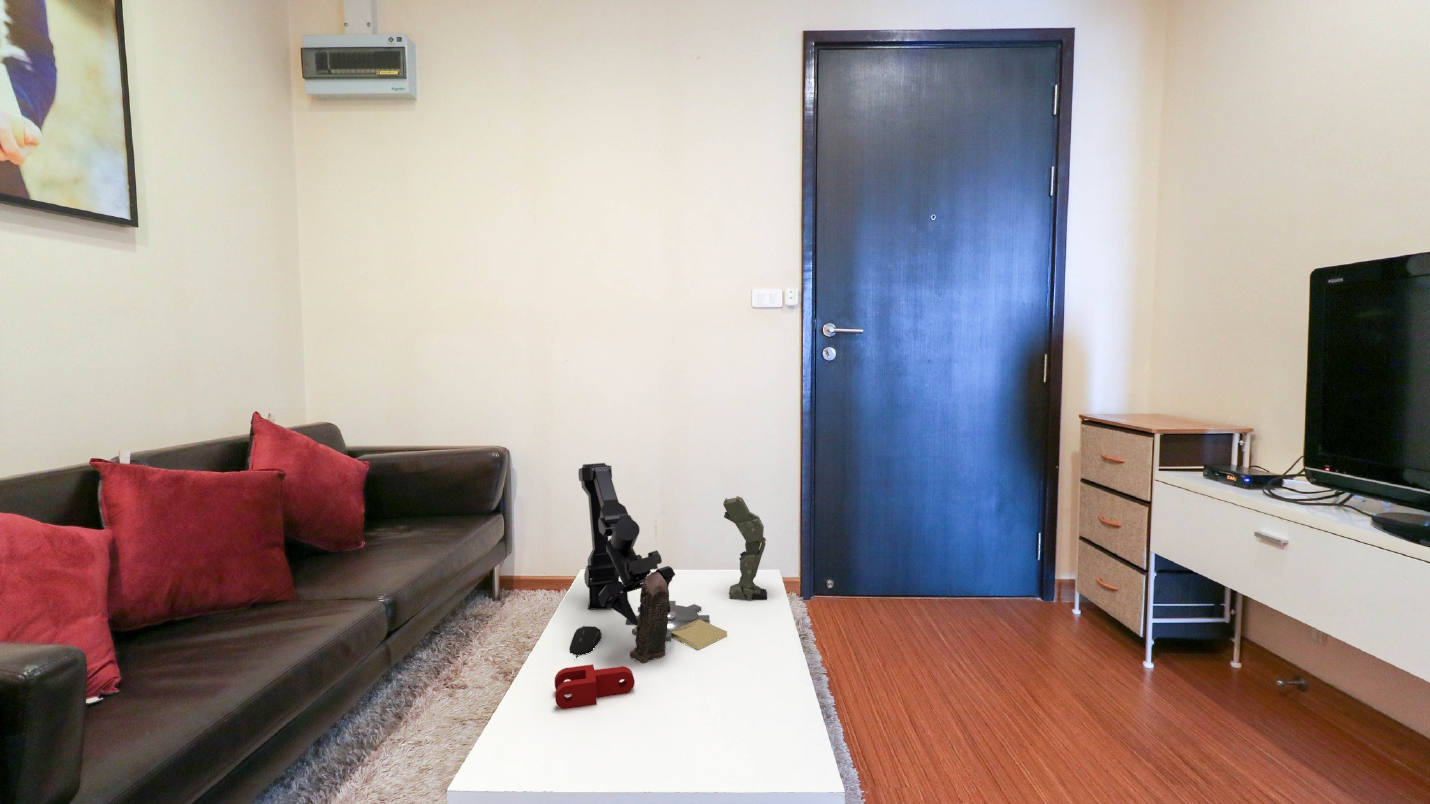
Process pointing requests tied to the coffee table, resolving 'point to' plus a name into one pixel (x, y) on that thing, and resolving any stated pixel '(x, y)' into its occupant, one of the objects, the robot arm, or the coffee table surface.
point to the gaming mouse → (585, 640)
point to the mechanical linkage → (590, 685)
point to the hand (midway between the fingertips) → (653, 618)
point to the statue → (652, 619)
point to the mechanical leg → (747, 549)
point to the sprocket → (689, 626)
